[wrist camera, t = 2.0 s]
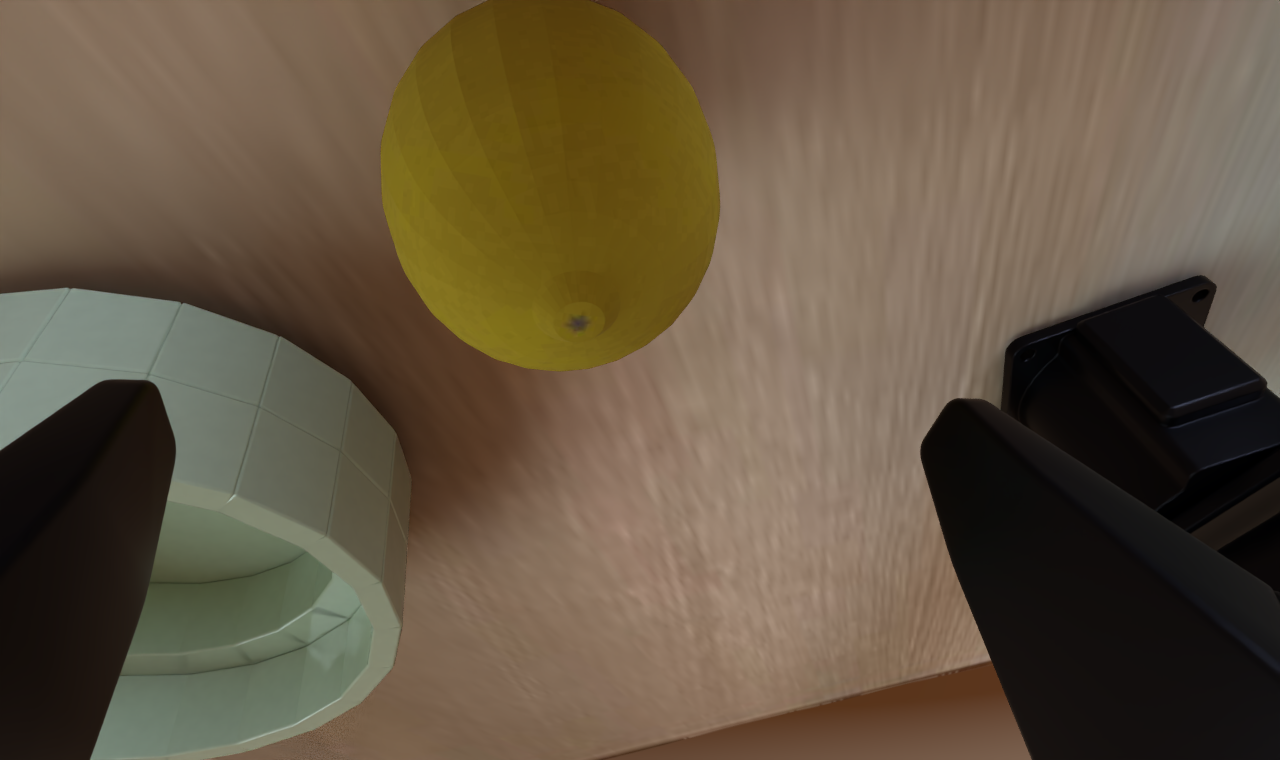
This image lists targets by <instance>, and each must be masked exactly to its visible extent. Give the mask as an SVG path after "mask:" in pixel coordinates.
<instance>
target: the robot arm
mask: <svg viewBox="0 0 1280 760" xmlns="http://www.w3.org/2000/svg"><path fill="white" fill-rule="evenodd" d="M1216 288H1217V286H1216V285H1215V284H1214V283H1213V282H1212V281H1211V280H1209V279H1208V278H1207V277H1205V276H1202V275H1199V276H1195V277H1192V278H1189V279H1186V280H1183V281H1180V282H1177V283H1175V284H1172V285H1169V286H1166V287H1163V288H1160V289H1157V290H1154V291H1152V292H1149V293H1146V294H1143V295H1140V296H1137V297H1134V298H1131V299H1129V300H1126V301H1123V302H1120V303H1117V304H1114V305H1111V306H1108V307H1106V308H1103V309H1100V310H1097V311H1094V312H1091V313H1088V314H1086V315H1083V316H1080V317H1077V318H1074V319H1071V320H1068V321H1065V322H1063V323H1060V324H1057V325H1054V326H1051V327H1048V328H1045V329H1042V330H1040V331H1037V332H1034V333H1031V334H1028V335H1025V336H1022V337H1020V338H1018V339H1016V340H1015V341H1013V342H1012V343H1011V344H1010V345H1009V346H1008V348H1007V349H1006V352H1005V364H1004V376H1003V389H1002V402H1001V410H1000V409H998V408H997V407H995V406H994V405H992V404H991V403H989V402H987V401H985V400H982V399H966V398H957V399H953V400H952V401H950V402H949V403H947V405H946V406H945V407H944V409H943V410H942V412H941V413H940V415H939V416H938V418H937V419H936V421H935V422H934V424H933V425H932V427H931V428H930V430H929V431H928V433H927V435H926V436H925V438H924V439H923V441H922V444H921V450H920V455H921V461H922V465H923V468H924V471H925V475H926V478H927V481H928V485H929V488H930V492H931V495H932V498H933V502H934V505H935V508H936V512H937V515H938V519H939V522H940V525H941V529H942V532H943V535H944V539H945V542H946V546H947V549H948V552H949V555H950V558H951V561H952V564H953V567H954V569H955V572H956V574H957V577H958V580H959V582H960V585H961V587H962V590H963V592H964V594H965V597H966V599H967V602H968V604H969V607H970V609H971V612H972V614H973V616H974V619H975V621H976V624H977V626H978V629H979V631H980V634H981V636H982V639H983V641H984V643H985V646H986V648H987V651H988V653H989V656H990V658H991V661H992V663H993V665H994V668H995V670H996V673H997V675H998V678H999V680H1000V683H1001V685H1002V688H1003V690H1004V692H1005V695H1006V697H1007V700H1008V702H1009V705H1010V707H1011V710H1012V712H1013V714H1014V717H1015V719H1016V722H1017V724H1018V727H1019V729H1020V731H1021V734H1022V737H1023V739H1024V741H1025V744H1026V746H1027V749H1028V751H1029V753H1030V756H1031V759H1032V760H1280V398H1279V397H1278V396H1276V395H1275V394H1274V393H1273V392H1272V391H1270V390H1269V389H1268V388H1267V381H1266V380H1265V378H1264V377H1262V376H1261V375H1260V374H1259V373H1258V372H1256V371H1255V370H1254V369H1253V368H1252V367H1250V366H1249V365H1248V364H1247V363H1246V362H1244V361H1243V360H1242V359H1241V358H1240V357H1238V356H1237V355H1236V354H1235V353H1234V352H1233V351H1231V350H1230V349H1229V348H1228V347H1227V346H1225V345H1224V344H1223V343H1222V342H1221V341H1219V340H1218V339H1217V338H1216V337H1215V336H1213V335H1212V334H1211V333H1210V332H1209V331H1207V330H1206V329H1205V328H1204V324H1205V321H1206V319H1207V316H1208V313H1209V310H1210V307H1211V304H1212V301H1213V298H1214V295H1215V293H1216ZM175 460H176V441H175V437H174V433H173V430H172V427H171V424H170V421H169V418H168V415H167V412H166V409H165V406H164V403H163V400H162V397H161V394H160V391H159V389H158V387H157V386H156V385H155V384H154V383H153V382H151V381H148V380H126V379H109V380H103V381H101V382H99V383H97V384H95V385H94V386H92V387H91V388H89V389H88V390H86V391H85V392H83V393H82V394H81V395H79V396H78V397H76V398H75V399H73V400H72V401H71V402H69V403H68V404H66V405H65V406H63V407H62V408H60V409H59V410H58V411H56V412H55V413H53V414H52V415H50V416H49V417H47V418H46V419H45V420H43V421H42V422H40V423H39V424H37V425H36V426H34V427H33V428H32V429H30V430H29V431H27V432H26V433H24V434H23V435H22V436H20V437H19V438H17V439H16V440H14V441H13V442H11V443H10V444H9V445H7V446H6V447H4V448H3V449H1V450H0V760H90V759H91V756H92V753H93V750H94V748H95V745H96V742H97V739H98V736H99V733H100V730H101V728H102V725H103V722H104V719H105V716H106V713H107V711H108V708H109V705H110V702H111V699H112V696H113V693H114V691H115V688H116V685H117V682H118V679H119V676H120V674H121V671H122V668H123V665H124V662H125V659H126V656H127V654H128V651H129V648H130V645H131V642H132V639H133V636H134V634H135V631H136V628H137V625H138V622H139V619H140V616H141V613H142V609H143V606H144V603H145V600H146V596H147V591H148V587H149V583H150V579H151V574H152V570H153V565H154V560H155V555H156V551H157V546H158V541H159V536H160V532H161V527H162V522H163V517H164V513H165V508H166V503H167V498H168V494H169V489H170V484H171V480H172V475H173V470H174V465H175Z"/></svg>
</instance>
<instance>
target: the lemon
mask: <svg viewBox="0 0 1280 760" xmlns="http://www.w3.org/2000/svg"><path fill="white" fill-rule="evenodd" d="M381 189H382V202H383V208H384V212H385V217H386V220H387V223H388V226H389V229H390V233H391V236H392V239H393V242H394V245H395V248H396V252H397V255H398V257H399V260H400V263H401V266H402V268H403V270H404V272H405V274H406V276H407V277H408V279H409V280H410V282H411V283H412V285H413V286H414V288H415V289H416V291H417V292H418V294H419V295H420V297H421V298H422V300H423V301H424V303H425V304H426V306H427V307H428V309H429V310H430V311H431V312H432V314H433V315H434V316H435V317H436V318H437V319H438V320H439V321H441V322H442V323H443V324H444V325H445V326H446V327H447V328H448V329H450V330H451V331H452V332H453V333H454V334H455V335H456V336H457V337H458V338H460V339H461V340H463V341H464V342H465V343H467V344H468V345H470V346H472V347H474V348H476V349H478V350H479V351H481V352H483V353H485V354H487V355H489V356H490V357H492V358H494V359H496V360H500V361H503V362H507V363H510V364H514V365H517V366H521V367H524V368H529V369H537V370H549V371H570V370H580V369H590V368H593V367H597V366H600V365H603V364H607V363H610V362H613V361H617V360H619V359H621V358H623V357H625V356H627V355H629V354H630V353H632V352H634V351H636V350H638V349H640V348H642V347H644V346H645V345H647V344H648V343H650V342H651V341H652V340H653V339H655V338H656V337H657V336H658V335H660V334H661V333H662V332H663V331H665V330H666V329H667V328H668V327H670V326H671V325H672V324H673V323H674V321H675V320H676V319H677V318H678V316H679V315H680V314H681V313H682V311H683V310H684V309H685V308H686V306H687V305H688V304H689V303H690V301H691V300H692V298H693V297H694V295H695V294H696V292H697V290H698V288H699V285H700V283H701V281H702V279H703V277H704V275H705V272H706V270H707V268H708V266H709V264H710V261H711V257H712V254H713V249H714V243H715V238H716V233H717V227H718V222H719V214H720V193H719V183H718V172H717V161H716V153H715V147H714V142H713V139H712V135H711V133H710V130H709V127H708V125H707V122H706V120H705V117H704V115H703V112H702V110H701V107H700V104H699V102H698V99H697V97H696V95H695V92H694V90H693V88H692V86H691V85H690V83H689V82H688V81H687V79H686V78H685V76H684V75H683V74H682V72H681V71H680V70H679V68H678V67H677V66H676V64H675V63H674V62H673V60H672V59H671V58H670V56H669V55H668V54H667V52H666V51H665V49H664V48H663V47H662V46H661V45H660V44H659V43H658V42H657V41H656V40H655V39H654V38H652V37H651V36H650V35H648V34H647V33H646V32H645V31H643V30H642V29H641V28H639V27H638V26H637V25H636V24H634V23H633V22H632V21H630V20H629V19H628V18H626V17H625V16H624V15H623V14H621V13H619V12H617V11H615V10H612V9H610V8H607V7H605V6H602V5H600V4H597V3H595V2H592V1H590V0H488V1H486V2H484V3H482V4H480V5H478V6H476V7H473V8H471V9H469V10H467V11H465V12H463V13H461V14H459V15H457V16H455V17H454V18H453V19H452V20H451V21H449V22H448V23H447V24H446V25H445V26H444V27H443V28H442V29H440V30H439V31H438V32H437V33H436V34H435V35H434V36H433V37H431V38H430V39H429V40H428V41H427V42H426V43H425V44H424V45H423V46H422V47H421V48H420V50H419V51H418V53H417V55H416V56H415V58H414V59H413V61H412V63H411V64H410V66H409V67H408V69H407V71H406V72H405V74H404V75H403V77H402V79H401V80H400V82H399V83H398V85H397V87H396V89H395V91H394V95H393V99H392V102H391V106H390V110H389V114H388V117H387V121H386V125H385V129H384V132H383V136H382V141H381Z"/></svg>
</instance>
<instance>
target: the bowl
mask: <svg viewBox="0 0 1280 760" xmlns="http://www.w3.org/2000/svg"><path fill="white" fill-rule="evenodd" d="M109 379H126V380H148V381H151V382H153V383H154V384H155V385H156V386H157V387H158V389H159V391H160V394H161V397H162V400H163V403H164V406H165V409H166V412H167V415H168V418H169V421H170V424H171V427H172V430H173V433H174V437H175V441H176V460H175V465H174V470H173V475H172V480H171V484H170V489H169V494H168V498H167V503H166V508H165V513H164V517H163V522H162V527H161V532H160V536H159V541H158V546H157V551H156V555H155V560H154V565H153V570H152V574H151V579H150V583H149V587H148V591H147V596H146V600H145V603H144V606H143V609H142V613H141V616H140V619H139V622H138V625H137V628H136V631H135V634H134V636H133V639H132V642H131V645H130V648H129V651H128V654H127V656H126V659H125V662H124V665H123V668H122V671H121V674H120V676H119V679H118V682H117V685H116V688H115V691H114V693H113V696H112V699H111V702H110V705H109V708H108V711H107V713H106V716H105V719H104V722H103V725H102V728H101V730H100V733H99V736H98V739H97V742H96V745H95V748H94V750H93V753H92V756H91V759H90V760H204V759H210V758H215V757H221V756H227V755H232V754H238V753H244V752H247V751H251V750H254V749H257V748H260V747H263V746H266V745H269V744H272V743H276V742H279V741H282V740H285V739H288V738H291V737H294V736H297V735H300V734H303V733H306V732H309V731H311V730H315V729H317V728H318V727H320V726H322V725H324V724H325V723H327V722H329V721H331V720H332V719H334V718H336V717H338V716H339V715H341V714H343V713H345V712H347V711H348V710H350V709H352V708H354V707H355V706H357V705H359V704H361V703H362V701H364V700H365V698H366V697H367V696H368V695H369V694H370V693H371V692H372V691H373V690H374V688H375V687H376V686H377V685H378V684H379V683H380V682H381V681H382V680H383V678H384V677H385V676H386V675H387V674H388V673H389V672H390V671H391V669H392V668H393V666H394V664H395V660H396V655H397V650H398V645H399V641H400V636H401V631H402V626H403V610H404V595H405V579H406V564H407V546H408V533H409V517H410V502H411V486H412V481H411V475H410V472H409V469H408V466H407V463H406V460H405V457H404V454H403V451H402V448H401V445H400V442H399V439H398V436H397V434H396V432H395V431H394V429H393V428H392V426H391V425H390V424H389V423H388V422H387V421H386V420H385V419H384V417H383V416H382V415H381V414H380V413H379V412H378V411H377V409H376V408H375V407H374V406H373V405H372V404H371V403H370V401H369V400H368V399H367V398H366V397H365V396H364V395H363V393H362V392H361V391H360V390H359V389H358V388H357V387H356V385H355V384H354V383H352V381H351V380H350V379H348V378H347V377H345V376H344V375H342V374H341V373H339V372H337V371H336V370H334V369H333V368H331V367H329V366H328V365H326V364H325V363H323V362H321V361H320V360H318V359H317V358H315V357H314V356H312V355H310V354H309V353H307V352H306V351H304V350H302V349H301V348H299V347H298V346H296V345H294V344H293V343H291V342H290V341H288V340H286V339H285V338H283V337H281V336H280V337H279V336H278V335H276V334H273V333H270V332H267V331H264V330H262V329H259V328H256V327H253V326H250V325H247V324H244V323H241V322H239V321H236V320H233V319H230V318H227V317H224V316H221V315H218V314H216V313H213V312H210V311H207V310H204V309H201V308H198V307H195V306H193V305H190V304H187V303H183V304H181V302H178V301H171V300H163V299H155V298H148V297H140V296H132V295H125V294H117V293H110V292H102V291H94V290H87V289H79V288H71V289H69V288H56V289H45V290H34V291H23V292H13V293H2V294H0V450H1V449H3V448H4V447H6V446H7V445H9V444H10V443H11V442H13V441H14V440H16V439H17V438H19V437H20V436H22V435H23V434H24V433H26V432H27V431H29V430H30V429H32V428H33V427H34V426H36V425H37V424H39V423H40V422H42V421H43V420H45V419H46V418H47V417H49V416H50V415H52V414H53V413H55V412H56V411H58V410H59V409H60V408H62V407H63V406H65V405H66V404H68V403H69V402H71V401H72V400H73V399H75V398H76V397H78V396H79V395H81V394H82V393H83V392H85V391H86V390H88V389H89V388H91V387H92V386H94V385H95V384H97V383H99V382H101V381H103V380H109Z"/></svg>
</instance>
